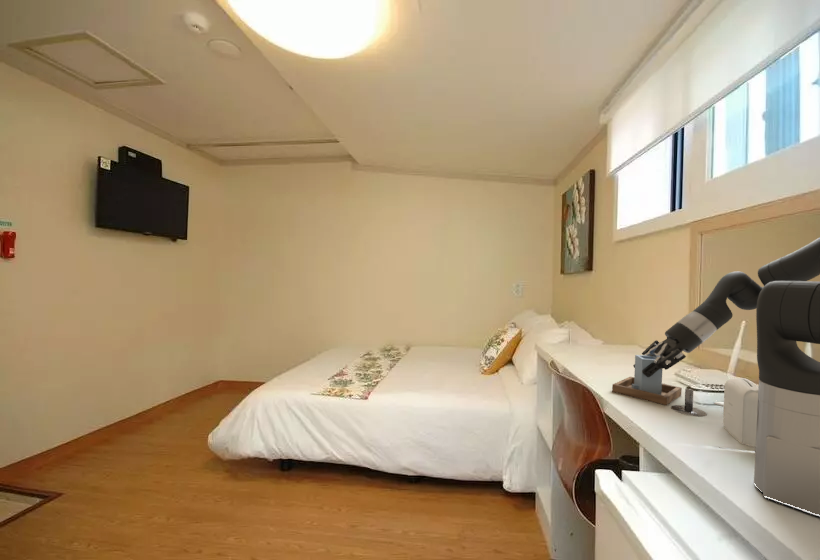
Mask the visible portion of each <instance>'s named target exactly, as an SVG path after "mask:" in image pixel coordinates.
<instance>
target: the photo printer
mask: <svg viewBox="0 0 820 560" xmlns="http://www.w3.org/2000/svg"><path fill="white" fill-rule="evenodd" d="M723 389H724V392H723V398H724V406H723V413H722V414H723V416H722V417H723V419H722V422H723V423H722V424H723V429H725V431H726V432H727V433H728V434H729V435H730V436H732V437H733V438H734V439H735V440H736V441H737V442H739V443H740V444H743V445H746V446H749V447H753V448H755V447H756V427H757V407H758V389H759V385H757V384H756V383H754V381H751V380H750V379H748V378H745V377H738V376H734V377H733V376H732V377H730V378H728V379H727V380H726V381H725V382H724V388H723Z"/></svg>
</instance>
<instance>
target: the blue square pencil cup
mask: <svg viewBox="0 0 820 560" xmlns="http://www.w3.org/2000/svg"><path fill="white" fill-rule="evenodd" d="M634 356H635V357H634V364H635V368H634V376H633V377H634V384H632V388H634V389H638V390H642V391H647V392H651V393H655V394H659V395H661V392H662V384H663V369H661V370H660V369H659V370H658V371H657V372H655V373H654V374H653V375H652V376H650V377H647V376H645V375H644V374H643V373H642V370H643V369H645V368H646V367H647V366H648V365H650V364H651V363H653V362H654V360H655V359H656V358H657V357H655V356H645V355H642V354H635V355H634Z"/></svg>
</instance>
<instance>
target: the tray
mask: <svg viewBox="0 0 820 560" xmlns="http://www.w3.org/2000/svg"><path fill="white" fill-rule="evenodd" d="M632 384H634V376H629V377H626V378H624V379H621V380H619V381H617V382H615V383H612V393H614V394H619V395H622V396H626V397H630V398H635V399H637V400H638V399H639V400H642V401H646V402H651V403H654V404H658V405H663V406H666V407H667V406H668V405H670V404H671V403H672V402H674V401H675V400H677V399H678V398H680V397H681V396H682V391H683V390H682V387H681V386H676V385H671V384H666V383H662V392H661V395H659V394H655V393H651V392H647V391H642V390H638V389H634V388H632Z"/></svg>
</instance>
